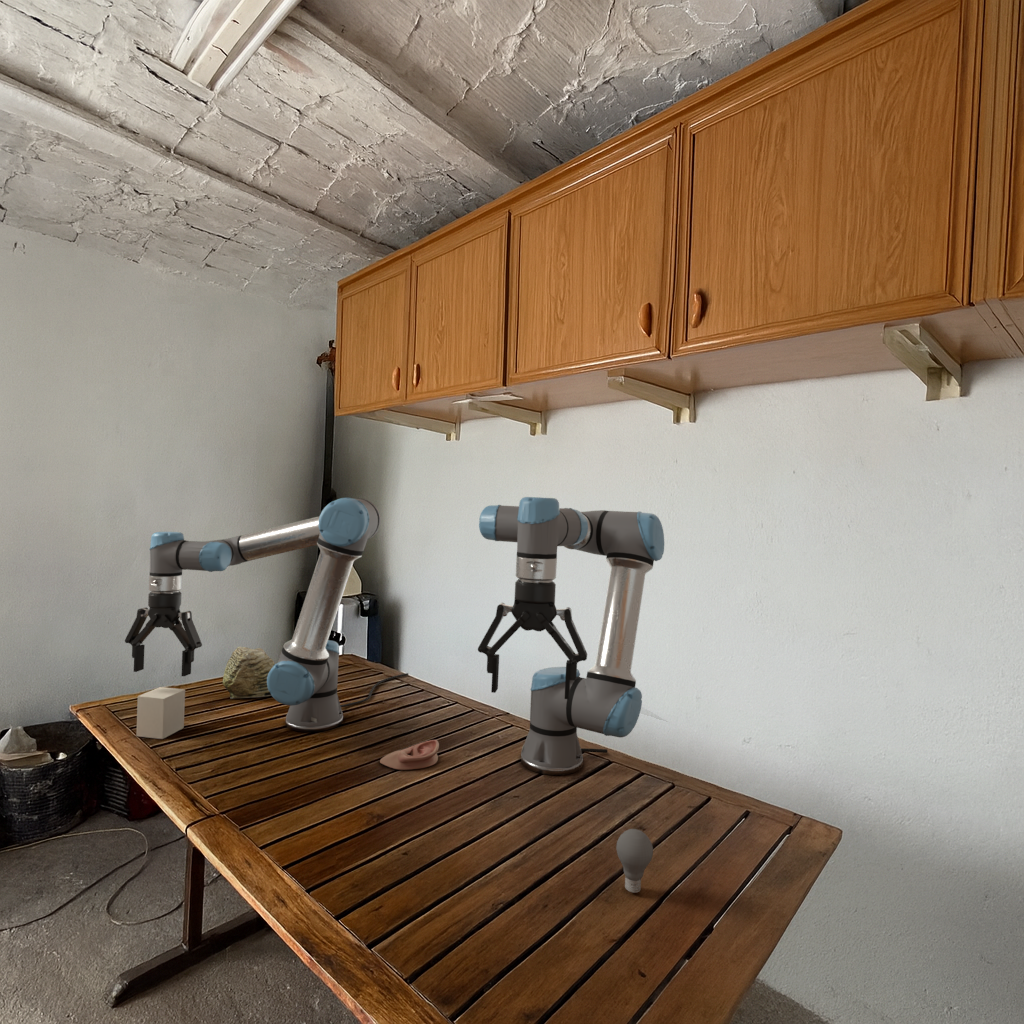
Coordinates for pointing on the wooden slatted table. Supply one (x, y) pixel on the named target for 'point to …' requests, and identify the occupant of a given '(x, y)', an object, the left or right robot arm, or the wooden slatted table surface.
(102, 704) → the wooden slatted table surface
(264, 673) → the fossil
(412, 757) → the anatomical model
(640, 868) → the light bulb
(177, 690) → the brick
